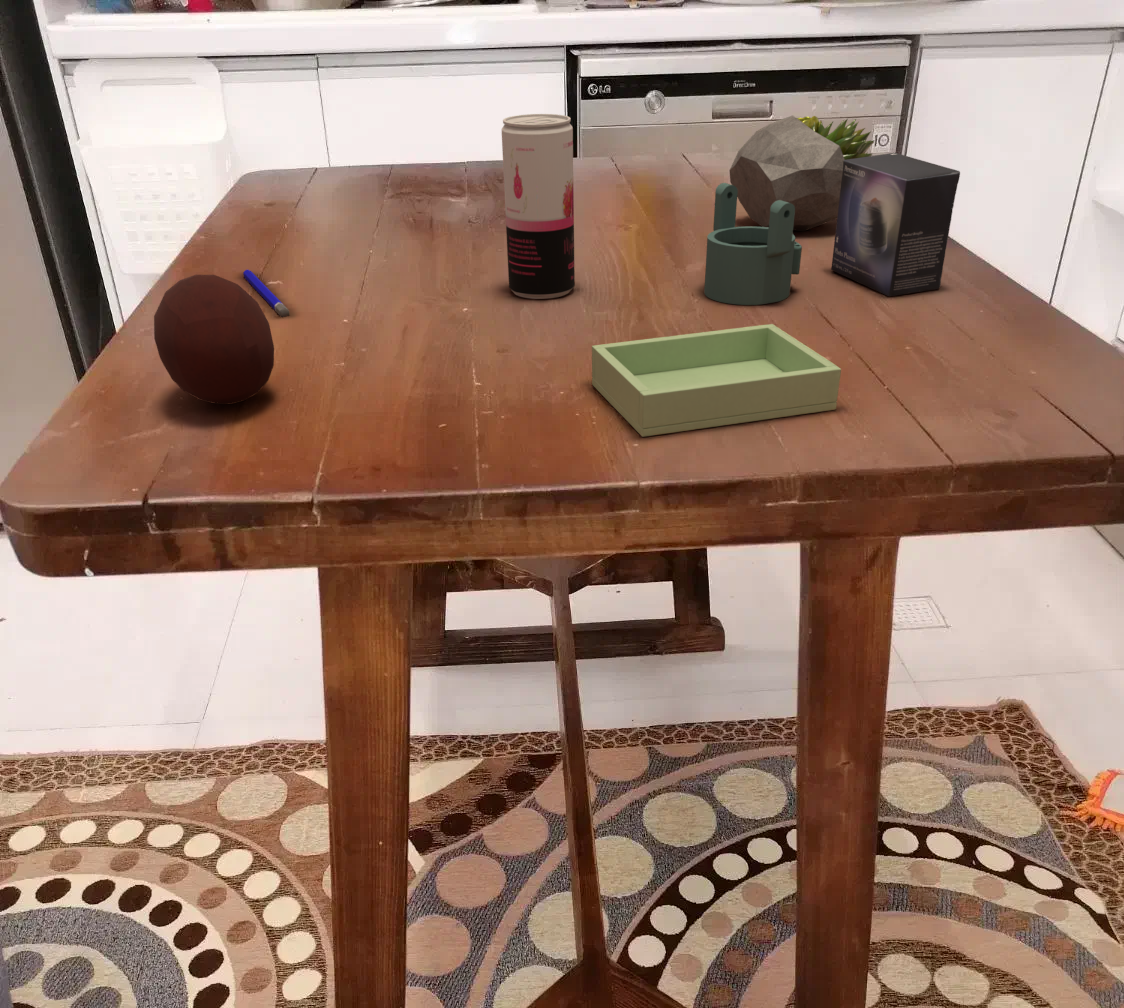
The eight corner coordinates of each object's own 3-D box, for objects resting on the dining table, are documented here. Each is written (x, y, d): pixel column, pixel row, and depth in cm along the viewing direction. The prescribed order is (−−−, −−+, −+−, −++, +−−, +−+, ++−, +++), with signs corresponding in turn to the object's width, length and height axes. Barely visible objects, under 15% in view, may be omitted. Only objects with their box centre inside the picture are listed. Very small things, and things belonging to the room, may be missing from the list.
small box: (825, 271, 113) (839, 157, 106) (879, 263, 115) (895, 151, 108) (886, 298, 105) (904, 176, 99) (942, 289, 107) (964, 169, 101)
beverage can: (588, 291, 109) (587, 118, 100) (536, 304, 106) (530, 127, 97) (547, 278, 113) (543, 111, 104) (496, 290, 110) (486, 119, 101)
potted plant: (719, 185, 131) (830, 137, 132) (766, 274, 130) (879, 226, 131) (734, 112, 120) (857, 60, 120) (787, 209, 118) (911, 156, 119)
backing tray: (836, 409, 83) (841, 368, 81) (642, 437, 79) (643, 394, 77) (769, 361, 91) (772, 323, 90) (591, 384, 88) (591, 345, 86)
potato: (176, 433, 82) (144, 304, 76) (166, 381, 91) (136, 262, 85) (292, 416, 84) (270, 289, 78) (271, 367, 93) (250, 250, 87)
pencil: (290, 318, 105) (289, 307, 104) (281, 319, 104) (279, 308, 104) (250, 276, 117) (249, 266, 116) (242, 277, 117) (240, 267, 116)
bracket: (781, 309, 103) (792, 205, 98) (688, 299, 106) (693, 197, 101) (804, 285, 110) (816, 186, 104) (716, 276, 113) (723, 179, 107)
